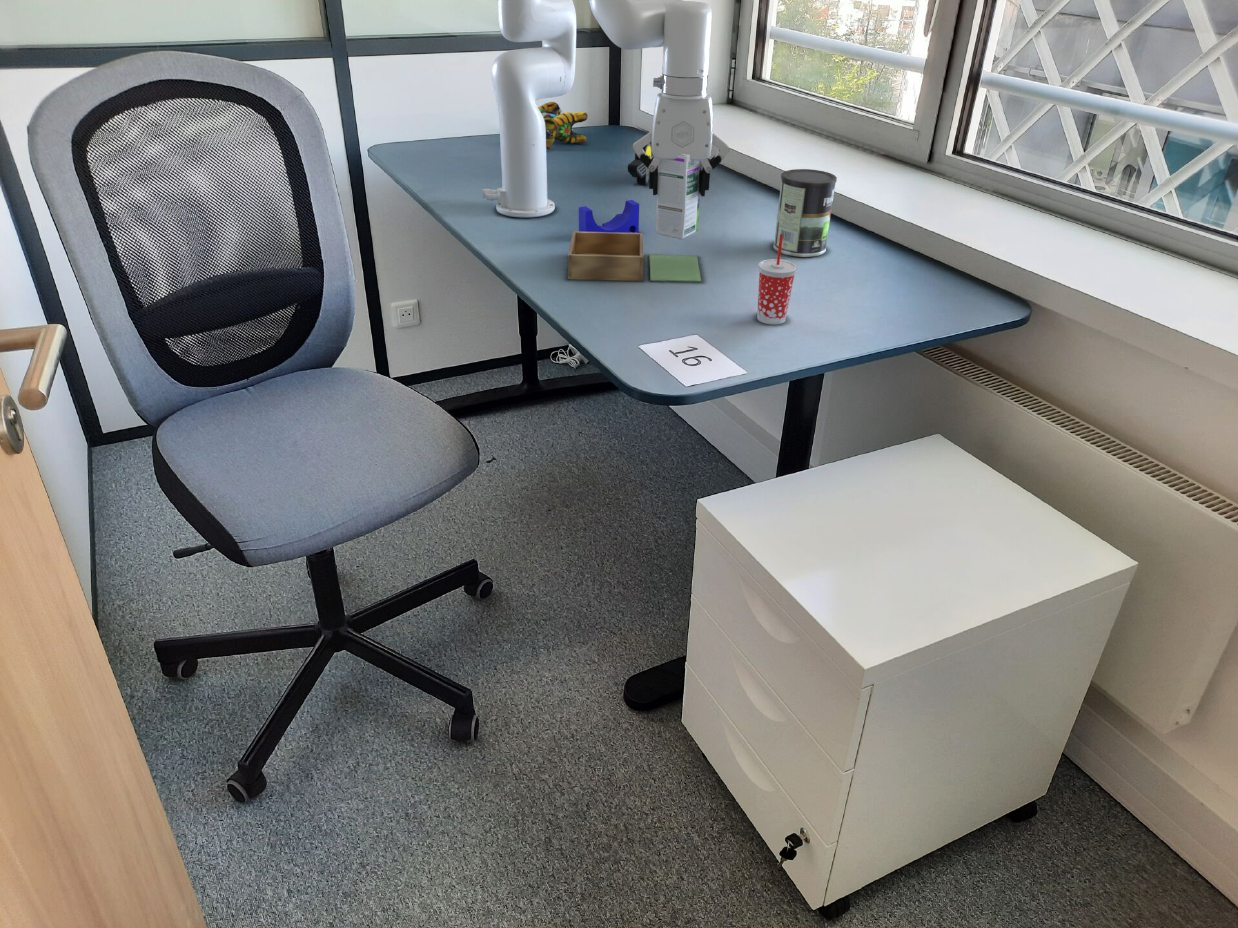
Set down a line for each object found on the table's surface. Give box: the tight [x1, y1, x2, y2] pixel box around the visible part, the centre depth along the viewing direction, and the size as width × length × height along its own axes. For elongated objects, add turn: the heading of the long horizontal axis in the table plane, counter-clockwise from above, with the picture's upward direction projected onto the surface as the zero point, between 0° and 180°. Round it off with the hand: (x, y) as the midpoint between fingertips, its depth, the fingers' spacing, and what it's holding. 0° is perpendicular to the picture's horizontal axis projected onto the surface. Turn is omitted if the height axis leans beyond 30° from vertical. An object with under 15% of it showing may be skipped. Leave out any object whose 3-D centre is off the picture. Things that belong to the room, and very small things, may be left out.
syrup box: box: [655, 154, 703, 240], centre depth 154 cm, size 6×6×14 cm
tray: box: [567, 230, 644, 282], centre depth 160 cm, size 13×13×4 cm
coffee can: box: [773, 168, 838, 258], centre depth 169 cm, size 10×10×14 cm
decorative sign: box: [627, 141, 658, 186], centre depth 210 cm, size 27×2×10 cm, turn 161°
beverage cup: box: [756, 234, 798, 325], centre depth 139 cm, size 6×6×14 cm
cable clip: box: [578, 199, 640, 233], centre depth 176 cm, size 12×4×6 cm, turn 118°
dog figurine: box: [537, 101, 588, 151], centre depth 240 cm, size 20×12×18 cm
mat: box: [649, 254, 702, 283], centre depth 162 cm, size 9×13×1 cm
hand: (678, 193), depth 154 cm, fingers closed on syrup box, 7 cm apart
